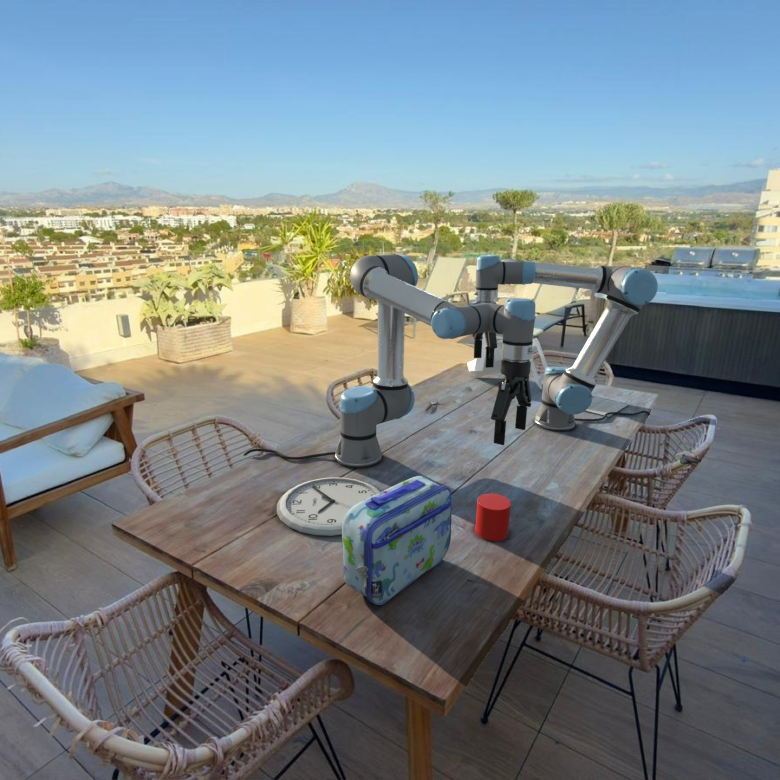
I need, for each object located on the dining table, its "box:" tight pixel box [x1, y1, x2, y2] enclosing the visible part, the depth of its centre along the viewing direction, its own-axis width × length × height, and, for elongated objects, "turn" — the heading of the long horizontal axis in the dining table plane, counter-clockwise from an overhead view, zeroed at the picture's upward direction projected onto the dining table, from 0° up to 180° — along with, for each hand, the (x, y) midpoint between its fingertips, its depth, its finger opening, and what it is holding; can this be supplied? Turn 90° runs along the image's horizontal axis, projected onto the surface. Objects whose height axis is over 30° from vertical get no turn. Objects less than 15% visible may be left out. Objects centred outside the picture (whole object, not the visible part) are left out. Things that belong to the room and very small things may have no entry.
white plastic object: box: [466, 333, 549, 390], centre depth 259 cm, size 37×45×31 cm
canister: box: [474, 493, 512, 542], centre depth 130 cm, size 8×8×9 cm
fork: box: [425, 396, 439, 412], centre depth 222 cm, size 3×16×2 cm, turn 160°
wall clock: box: [276, 476, 382, 537], centre depth 142 cm, size 30×2×30 cm
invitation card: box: [584, 396, 629, 418], centre depth 226 cm, size 21×1×15 cm
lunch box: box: [341, 475, 453, 606], centre depth 111 cm, size 26×11×21 cm, turn 134°
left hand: (509, 436), depth 141 cm, fingers open, 13 cm apart
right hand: (483, 362), depth 185 cm, fingers open, 13 cm apart
